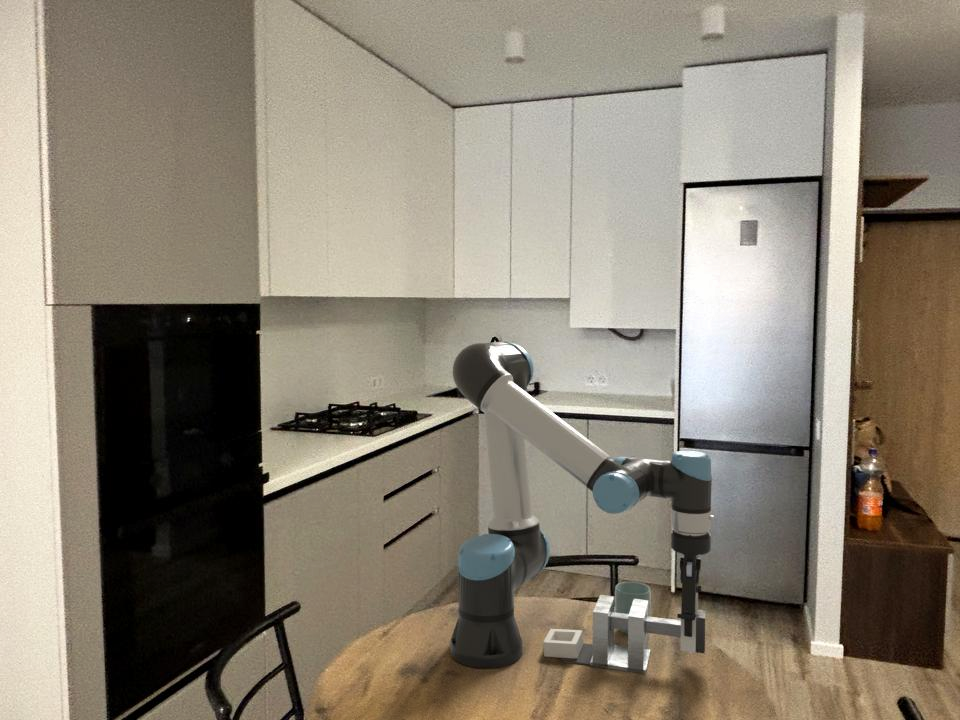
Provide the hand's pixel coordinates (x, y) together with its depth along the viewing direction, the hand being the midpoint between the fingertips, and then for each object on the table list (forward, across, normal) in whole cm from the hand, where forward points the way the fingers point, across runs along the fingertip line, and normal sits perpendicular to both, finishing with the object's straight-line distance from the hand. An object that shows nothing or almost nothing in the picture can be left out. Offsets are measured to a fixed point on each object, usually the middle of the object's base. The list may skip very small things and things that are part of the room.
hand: (689, 636), depth 145 cm
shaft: (+2, 0, +8) cm, 8 cm away
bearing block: (+7, 0, +14) cm, 15 cm away
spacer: (+5, 0, +25) cm, 26 cm away
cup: (+7, +14, +13) cm, 20 cm away
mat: (+7, 0, +22) cm, 23 cm away
